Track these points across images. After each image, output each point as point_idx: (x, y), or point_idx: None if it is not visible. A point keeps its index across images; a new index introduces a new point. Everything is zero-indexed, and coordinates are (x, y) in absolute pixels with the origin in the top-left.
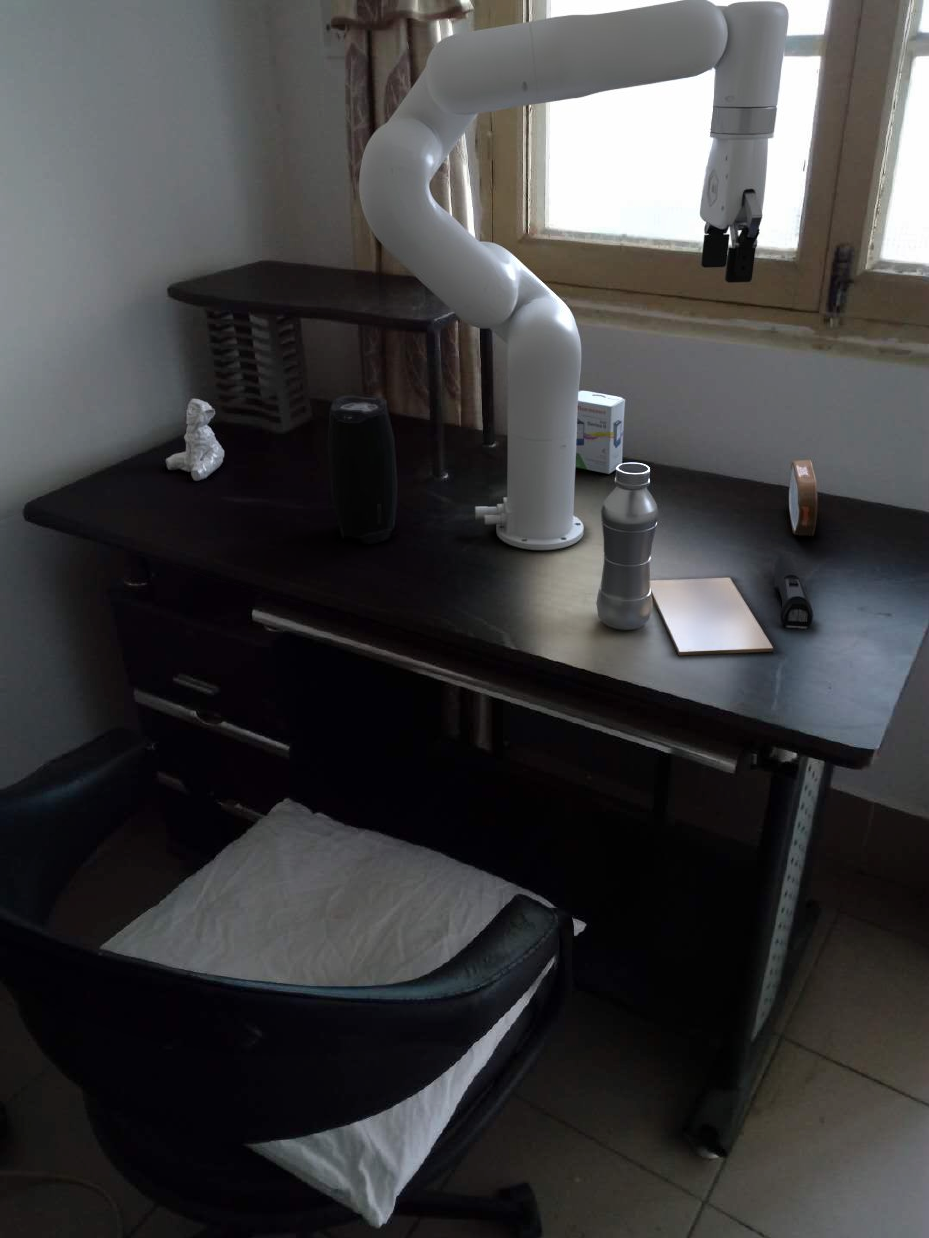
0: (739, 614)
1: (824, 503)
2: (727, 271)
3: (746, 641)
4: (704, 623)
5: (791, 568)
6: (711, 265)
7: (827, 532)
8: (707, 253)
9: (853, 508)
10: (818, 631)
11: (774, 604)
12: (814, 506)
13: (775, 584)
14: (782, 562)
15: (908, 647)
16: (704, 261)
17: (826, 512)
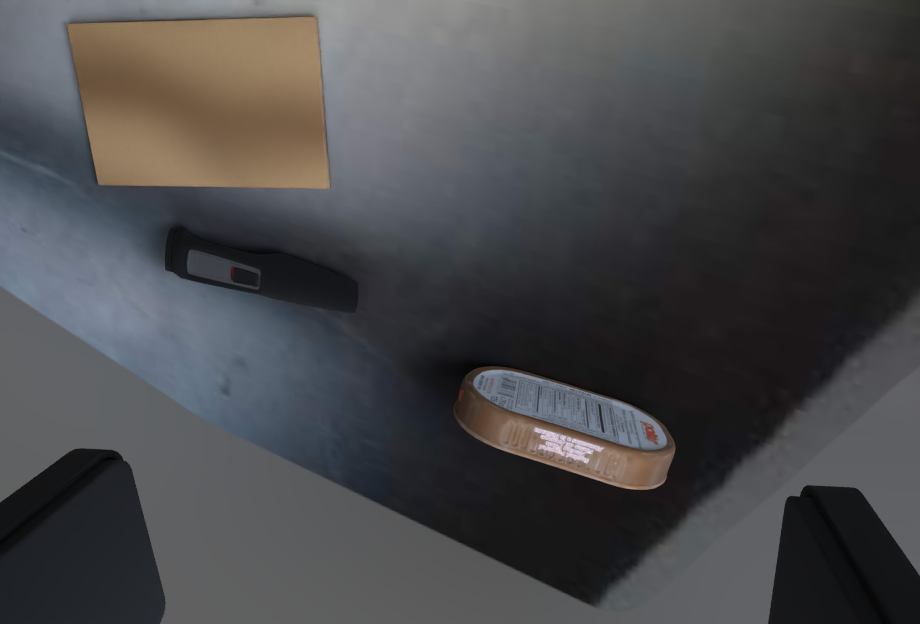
0: (194, 163)
1: None
2: (14, 493)
3: (111, 148)
4: (159, 93)
5: (287, 291)
6: (779, 565)
7: None
8: (834, 616)
9: (621, 515)
10: (169, 274)
11: (248, 237)
12: (458, 413)
13: (282, 255)
14: (320, 287)
15: (138, 375)
16: (807, 527)
17: None
